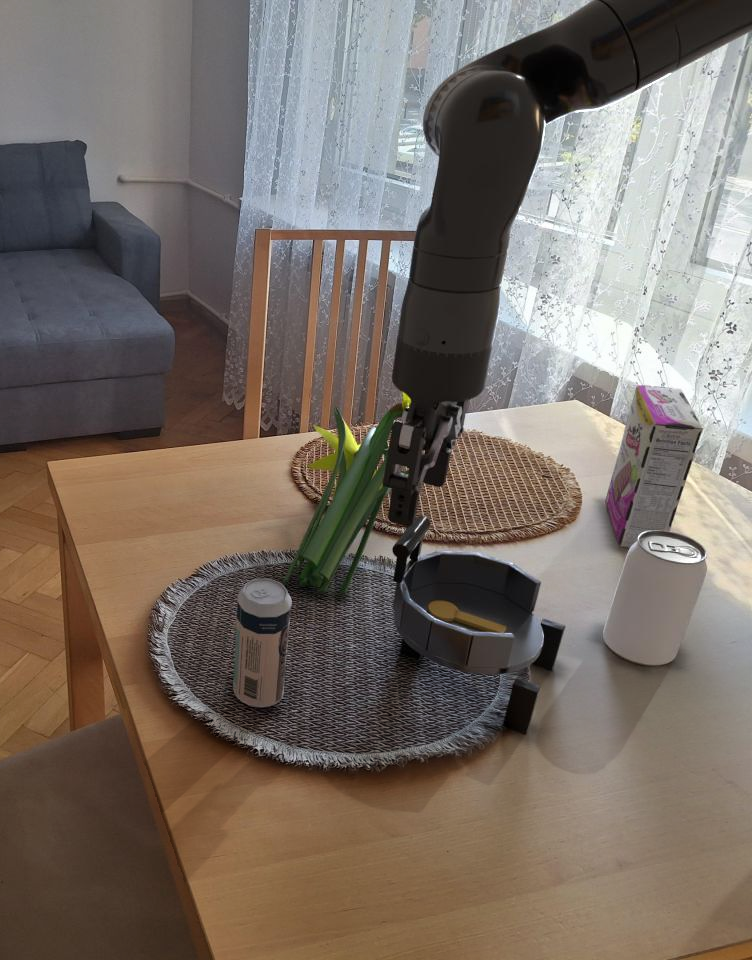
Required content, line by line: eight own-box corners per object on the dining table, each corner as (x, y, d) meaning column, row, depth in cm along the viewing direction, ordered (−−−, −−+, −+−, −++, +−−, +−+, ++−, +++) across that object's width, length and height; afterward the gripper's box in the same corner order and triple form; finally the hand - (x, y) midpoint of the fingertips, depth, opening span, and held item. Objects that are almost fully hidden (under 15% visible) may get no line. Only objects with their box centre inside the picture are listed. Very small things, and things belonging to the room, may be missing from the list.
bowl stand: (554, 665, 84) (565, 625, 81) (525, 735, 76) (537, 692, 74) (421, 619, 90) (428, 580, 88) (383, 678, 83) (389, 638, 80)
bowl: (557, 615, 82) (578, 538, 78) (522, 695, 73) (543, 613, 69) (415, 570, 90) (427, 497, 85) (367, 638, 80) (378, 560, 76)
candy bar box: (601, 501, 110) (635, 383, 102) (645, 507, 108) (683, 387, 100) (615, 548, 101) (653, 422, 93) (663, 555, 99) (707, 427, 91)
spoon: (508, 625, 80) (509, 621, 80) (500, 641, 78) (500, 638, 78) (432, 600, 84) (433, 596, 84) (423, 615, 82) (424, 611, 82)
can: (681, 674, 82) (720, 571, 76) (605, 660, 84) (637, 558, 78) (668, 633, 87) (704, 533, 81) (597, 620, 89) (627, 523, 83)
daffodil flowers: (219, 572, 101) (324, 396, 121) (322, 645, 100) (410, 456, 120) (287, 504, 87) (393, 319, 107) (407, 589, 86) (490, 386, 107)
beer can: (292, 704, 80) (302, 601, 74) (245, 716, 79) (251, 612, 73) (270, 671, 84) (277, 571, 78) (224, 682, 83) (229, 581, 77)
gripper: (466, 370, 64) (432, 551, 72) (515, 318, 74) (481, 481, 82) (369, 351, 68) (347, 524, 76) (428, 304, 78) (404, 461, 86)
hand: (417, 502), depth 79 cm, fingers open, 8 cm apart
